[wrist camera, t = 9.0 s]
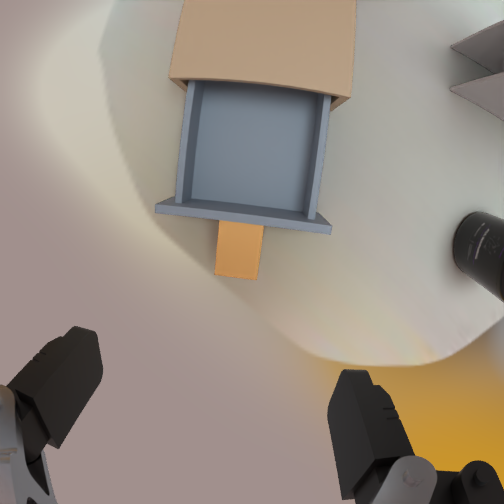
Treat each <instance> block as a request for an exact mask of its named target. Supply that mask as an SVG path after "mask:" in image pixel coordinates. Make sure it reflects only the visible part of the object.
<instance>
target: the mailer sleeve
mask: <svg viewBox="0 0 504 504" xmlns="http://www.w3.org/2000/svg"><path fill="white" fill-rule="evenodd" d="M355 27H356V0H184V4H183V8H182V13H181V17H180V21H179V26H178V30H177V35H176V40H175V44H174V49H173V55H172V60H171V65H170V71H169V77H168V78H169V79H171V80H172V81H173V82H174V83H176V84H177V85H178V86H179V87H180V88H182V89H183V90H184V91H185V92H187V89H188V82H189V80H212V81H229V82H242V83H253V84H263V85H271V86H279V87H286V88H293V89H299V90H305V91H311V92H317V93H322V94H327V95H331V103H330V111H332V110H334V109H335V108H337V107H338V106H339V105H341V104H342V103H343V102H345V101H346V100H348V99H349V98H351V90H352V78H353V64H354V48H355Z"/></svg>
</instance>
